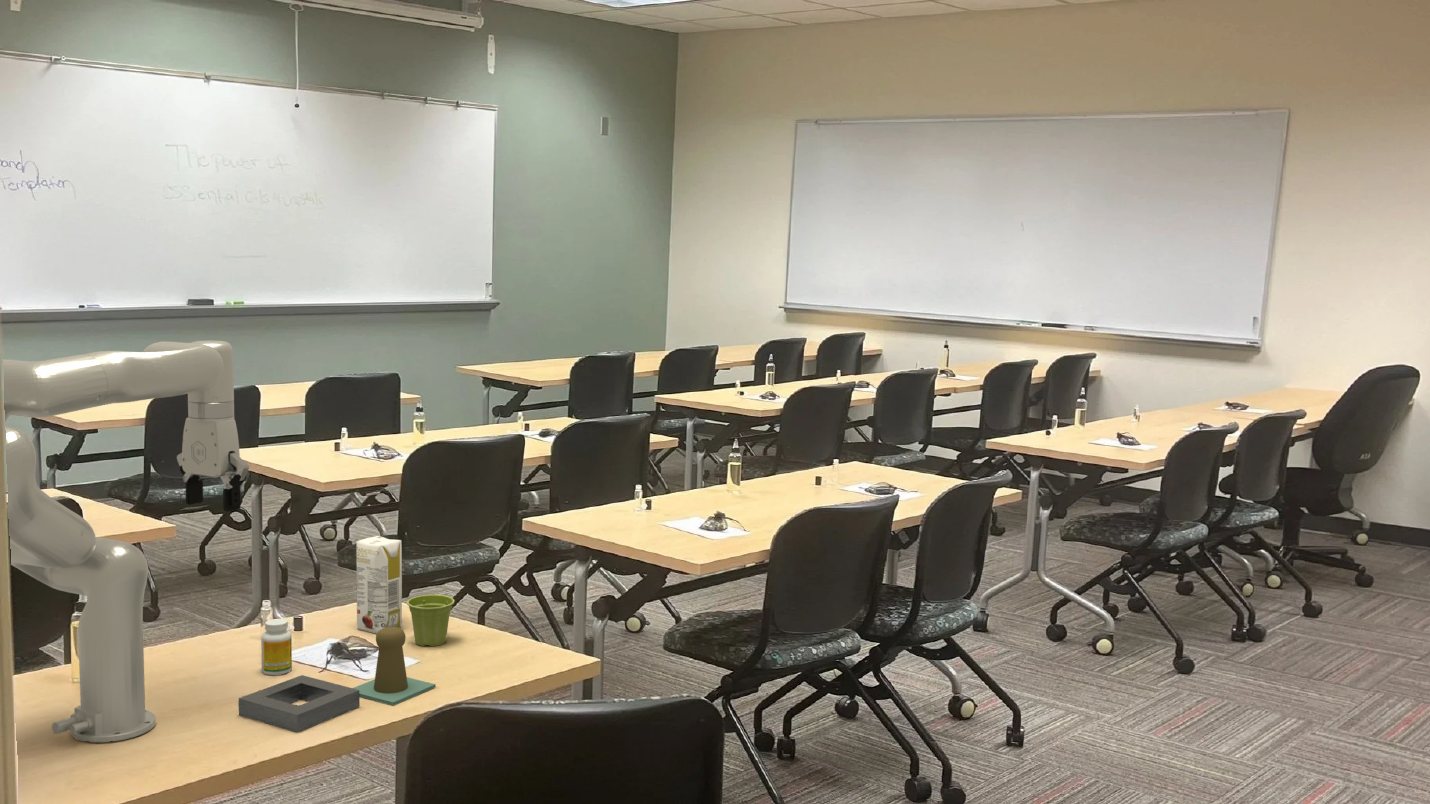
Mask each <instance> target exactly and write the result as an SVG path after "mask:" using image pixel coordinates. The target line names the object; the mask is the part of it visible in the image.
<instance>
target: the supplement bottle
mask: <svg viewBox="0 0 1430 804" xmlns="http://www.w3.org/2000/svg"><path fill="white" fill-rule="evenodd" d="M288 624H289V623H288V620H287V619H285V618H274V619H268V620H266V621H265V623H264V629H265V631H264V633H262V635H261V639H260V640H261V648H260V649H261V671H262V674H265V675H267V676H268V675H270V676H281V675H284V674H288V673H290V672H291V670H292V667H293V660H292V659H293V658H292V657H293V653H292V650H293V649H292V648H293V647H292V643H293V642H292V641H293V640H292V639H293V638H292V633H291V632H290V631H289V630H288V627H289V625H288Z"/></svg>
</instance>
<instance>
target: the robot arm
mask: <svg viewBox="0 0 1430 804" xmlns="http://www.w3.org/2000/svg"><path fill="white" fill-rule="evenodd" d="M2 360H3V366H4V410H5V422H7V420H8V419H9V417H10V416H18V417H25V418H35V419H36V418H37V419H38V418H48V417H55V416H58V415H59V416H60V415H63V414H64V415H65V414H68V413H72V412H78V411H82V410H86V409H91V408H92V409H93V408H98V407H101V406H107V405H112V404H121V403H122V404H123V403H133V402H138V401H144V400H145V401H146V400H147V401H148V400H154V399H161V398H171V397H177V396H178V397H179V396H183V395H186V394H187V410H188V411H187V413H188V417H186V418H185V422H184V426H183V434H182V443H181V444H182V447H181V452H180V453H179V454H177V455H176V461H177V463H178V465H179V472H180V473H181V474H182V481H183V482H184V483H185V504H186V505H189V506H190V505H194V504H195V505H196V504H200V503H203V502H204V483H203V480H202V479H201V478H202V477H204V478H205V477H206V478H213V479H216V478H220V479H221V481H222V483H223V484H224V486H225V488H222V489H223V490H222V496H223V497H222V499H223V500H222V502H223V505H222V506H223V508H222V509H223V511H224V512H230V511H231V512H232V511H236V510H240V509H241V507H242V505H241V502H242V501H241V488H242V487H243V486H244V482H245V481H246V480H247V474H248V472H249V469H250V465H249V464H248V463H247V462H246V461H245V460H244V459H242V457H241V455H240V443H239V434H238V428H237V424H236V419H235V389H234V388H235V387H234V386H235V385H234V382H235V381H234V349H233V347H232V345H231V343H229V342H227V341H225V340H212V339H211V340H210V339H209V340H208V339H207V340H196V341H191V342H180V341H179V342H178V341H158V342H154V343H151V344H149V345H148V346H146V347H145V348H144V349H143V350H142V351H128V350H127V351H125V350H104V351H103V350H102V351H99V350H98V351H92V352H86V353H82V354H76V355H70V356H65V357H57V358H51V359H46V360H38V361H37V360H36V361H32V360H31V361H30V360H29V361H28V360H20V359H19V360H17V359H7V358H6V359H2ZM5 430H6V464H7V484H8V519H9V536H10V549H11V564H10V565H11V566H12V567H14V568H16V569H18V570H20V571H21V572H23V573H25V574H26V575H28V576H30V577H31V578H33V579H35V580H36V581H38V582H41V583H42V584H44V585H46V586H47V587H50V588H51V589H55V590H57V591H62V592H66V593H69V594H74V595H75V594H76V595H80V596H81V595H82V596H84V597H86V599H87V600H86V602H85V605H84V607H83V609H82V612H81V613H80V616H79V620H78V625H77V642H78V665H79V666H78V667H79V668H78V669H79V693H80V694H79V698H80V701H79V702H80V705H78V706H75V707H74V708H73V710H74V712H73V714H71V715H70V716H69V717H68V718H63V719H60V720H57V721H54V722H52V724H51V730H52V732H53V734H56V735H58V734H61V733H64V732H67V731H70V735H71V737H72V738H74V739H76V740H78V741H81V742H85V741H91V742H90V743H110V741H113V742H119V741H123V740H128V739H132V738H135V737H137V736H140V735H143V734H145V733H148V732H149V731H151V730H152V729H153V728H155V726H156V723H157V722H156V721H157V720H156V719H157V718H156V715H155V714H154V713H153V712H152V711H150V710H148V709H146V695H145V694H146V693H145V691H146V690H145V687H146V686H145V659H144V658H145V657H144V656H145V652H144V625H143V624H144V622H143V620H144V619H143V615H144V614H143V612H144V611H143V609H144V608H143V607H144V601H145V600H144V597H145V592H146V591H145V590H146V587H147V581H148V577H149V576H148V574H149V563H148V560H147V558H146V555H145V554H144V553H143V552H142V550H140V548H138V547H137V546H135V545H134V544H132V543H129V542H127V541H123V540H119V539H113V538H107V537H101V536H100V537H99V536H96V534H95V530H94V529H93V527H92V526H91V525H90V523H89V522H88V521H87V520H86V519H85V518H83V517H82V516H81V515H79V514H78V513H76V512H74V511H73V510H71V509H70V508H68V507H66V506H65V505H63V504H62V503H60V502H59V501H58V500H55V498H52V497H51V496H49V495H48V494H47V493H46V492H44V491H43V490H42V489H41V488H40V487H39V486H38V484H37V479H36V478H37V477H36V470H37V469H36V467H37V451H36V448H35V444H34V442H33V441H32V439H31V438H30V436H29V435H28V434H27V433H26V432H24V431H23V430H22V429H19V428H18V427H16V426H13V425H10V424H5ZM230 477H231V479H230Z"/></svg>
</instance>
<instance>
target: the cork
mask: <svg viewBox="0 0 1430 804" xmlns="http://www.w3.org/2000/svg"><path fill="white" fill-rule="evenodd" d="M406 638H407V637H406V633H405V631H404V629H402V628H398V627H387V628H383V629H381V630H379V631H378V633H377V634H376V636H375V642H376V646H377V647H378V653H377V660H376V661H377V662H376V666H375V667H376V668H375V676H374V679H375V682H374V690H375V691H376V692H379V693H398V692H402V691H404V690H406V689H407V688H408V683H407V677H408V676H407V670H406V663H405V656H404V648H403V646H404V644H405V643H406Z"/></svg>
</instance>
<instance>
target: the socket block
mask: <svg viewBox="0 0 1430 804" xmlns="http://www.w3.org/2000/svg"><path fill="white" fill-rule="evenodd" d="M353 688H354V687H350V686H344V685H342V684H338V683H334V682H331V681H326V680H323V679H318V678H314V677H311V676H306V675H303V674H301V675H299V676H296V677H293V678H290V679H287V680H285V681H282V682H280V683H277V684H274V685H273V684H272V685H270V686H268V687H266V688H263V689H261V690H257V691H255V692H251V693H250V694H247V695H244V696H242V697H239V698H238V716H240V717H243V718H245V719H246V718H248V719H249V720H254V721H257V722H260V723H264V724H268V725H271V726H275V727H278V728H281V729H284V730H288V731H291V732H295V733H300V732H302V731H305V730H307V729H310V728H312V727H314V726H316V725H319V724H322V723H323V722H326V721H328V720H331V719H334V718H335V717H337V716H341V715H343V714H346V713H347V712H350V711H353V710H354V709H357V708H360V707H361V706H360V698H361V697H360V694H359V690H357V689H353ZM301 700H303V701H306V702H305V703H302V704H300V705H297V704H295V703H296V702H299V701H301ZM293 703H294V704H293Z"/></svg>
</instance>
